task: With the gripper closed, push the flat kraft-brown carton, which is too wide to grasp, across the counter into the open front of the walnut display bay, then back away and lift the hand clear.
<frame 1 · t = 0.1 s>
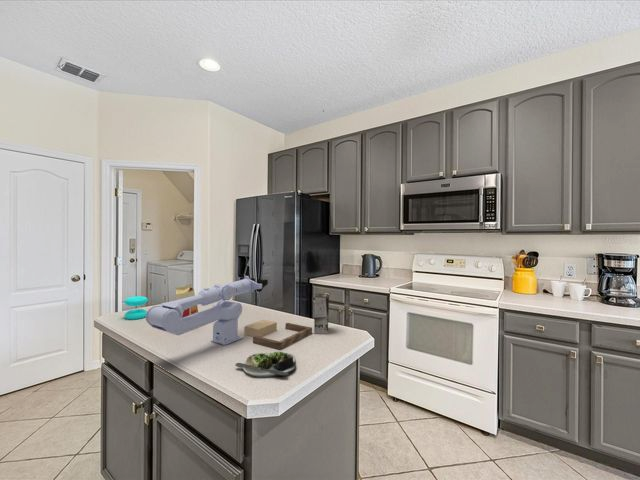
hand: (260, 281, 138), 22 cm above the counter, tool horizontal, fingers open, 7 cm apart
turquoise double disc piece: (136, 317, 151), on the counter
coffee box: (321, 331, 136), on the counter
display bay: (282, 337, 126), on the counter
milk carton: (185, 328, 136), on the counter
salad plate: (271, 368, 98), on the counter
kraft carton: (260, 333, 132), on the counter
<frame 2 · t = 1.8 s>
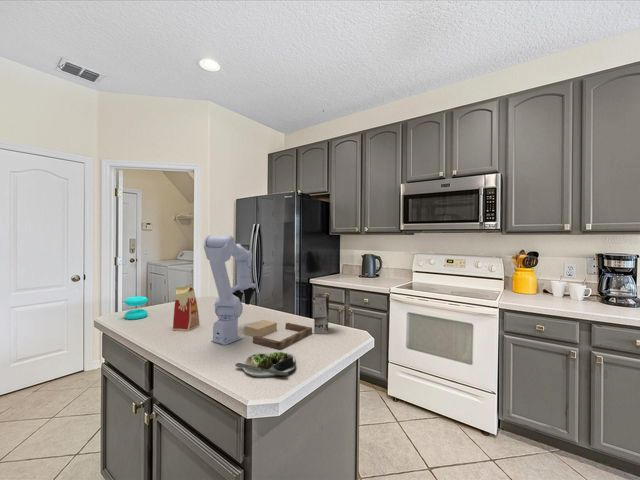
hand: (243, 305, 137), 10 cm above the counter, tool pointing down, fingers open, 5 cm apart
nothing on the counter moved.
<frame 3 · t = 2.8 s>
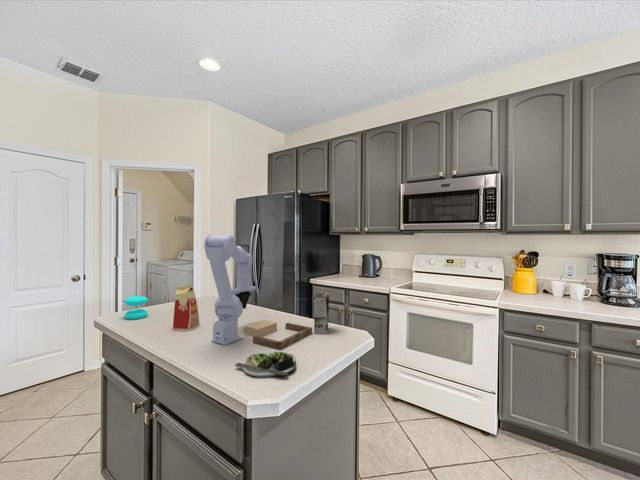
hand: (243, 308, 137), 9 cm above the counter, tool pointing down, fingers closed
nothing on the counter moved.
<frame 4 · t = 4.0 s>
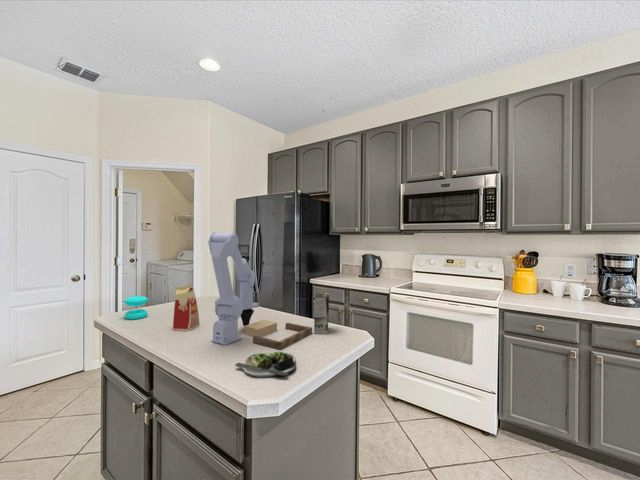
hand: (245, 325, 136), 1 cm above the counter, tool pointing down, fingers closed
nothing on the counter moved.
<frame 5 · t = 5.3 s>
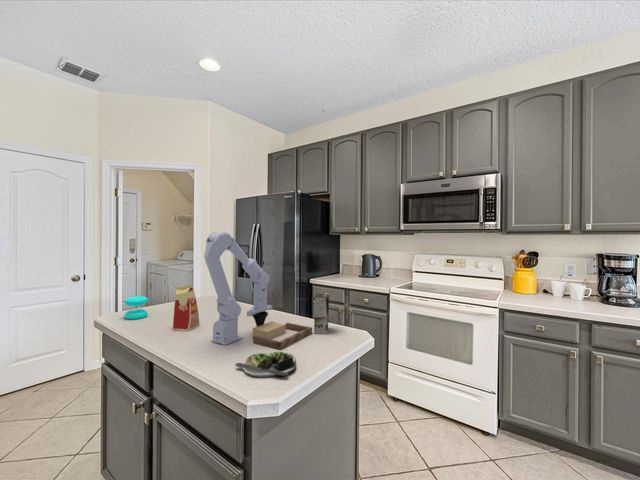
hand: (259, 328, 132), 1 cm above the counter, tool pointing down, fingers closed
kraft carton: (269, 335, 129), on the counter
everything else where it was.
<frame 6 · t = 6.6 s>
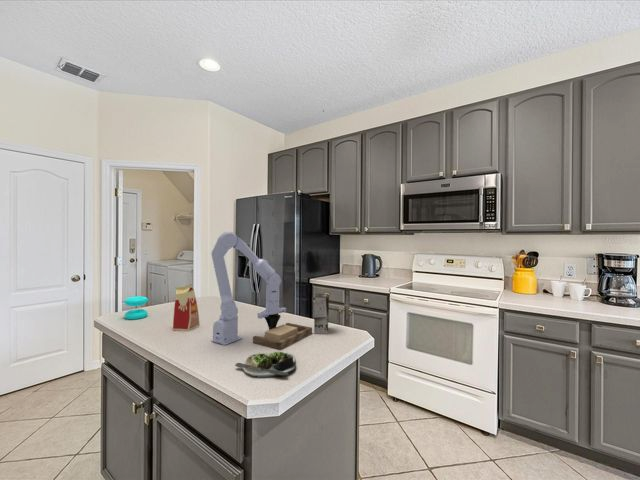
hand: (272, 331, 129), 1 cm above the counter, tool pointing down, fingers closed
kraft carton: (281, 339, 125), on the counter
everything else where it was.
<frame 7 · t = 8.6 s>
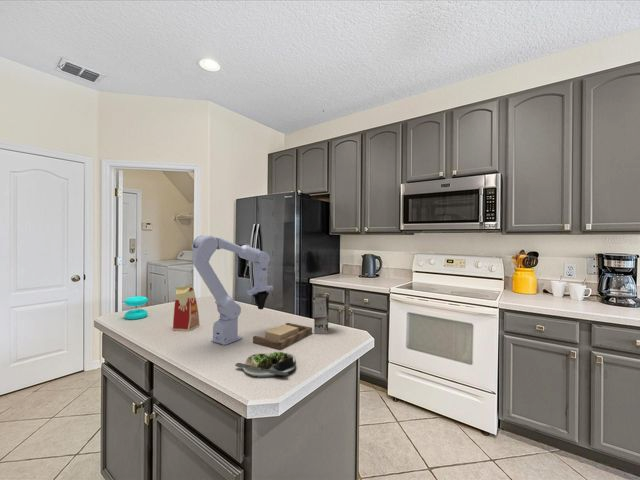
hand: (260, 308, 132), 10 cm above the counter, tool pointing down, fingers closed
nothing on the counter moved.
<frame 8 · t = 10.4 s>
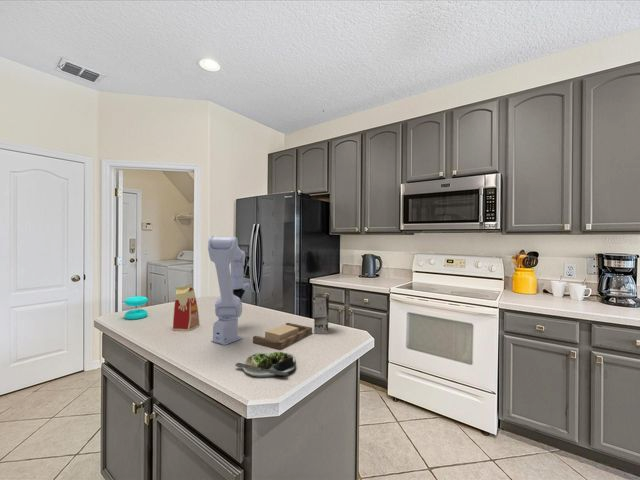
hand: (236, 305, 137), 10 cm above the counter, tool pointing down, fingers closed
nothing on the counter moved.
at the end: kraft carton inside the target area (0.8 cm from its centre), on the counter; kraft carton tilted 0°; the gripper is holding nothing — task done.
